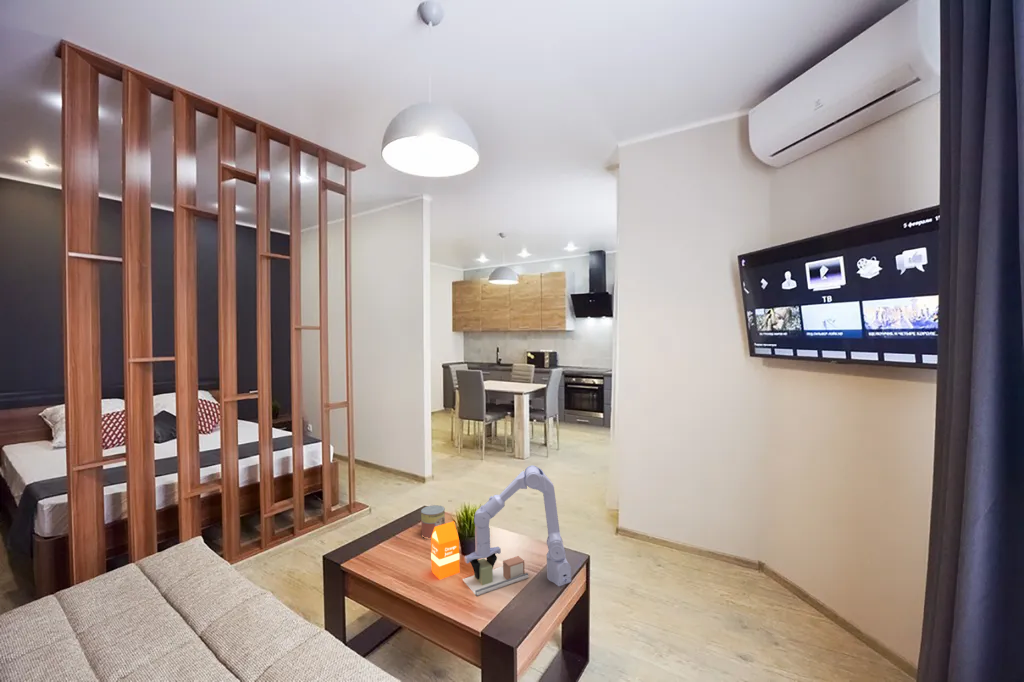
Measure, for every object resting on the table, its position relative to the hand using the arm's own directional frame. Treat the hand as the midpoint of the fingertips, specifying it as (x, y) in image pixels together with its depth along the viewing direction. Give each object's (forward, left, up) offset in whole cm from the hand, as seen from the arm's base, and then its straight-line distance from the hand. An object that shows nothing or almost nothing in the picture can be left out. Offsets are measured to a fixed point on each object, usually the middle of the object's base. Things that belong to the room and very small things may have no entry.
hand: (483, 576), depth 164 cm
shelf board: (-2, -4, -2) cm, 5 cm away
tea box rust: (-4, -11, -1) cm, 12 cm away
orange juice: (+13, +11, -2) cm, 17 cm away
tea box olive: (0, 0, -1) cm, 1 cm away
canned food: (+50, +3, -2) cm, 50 cm away
